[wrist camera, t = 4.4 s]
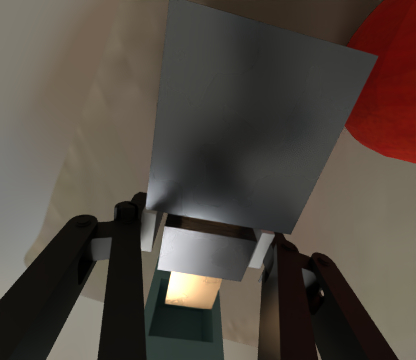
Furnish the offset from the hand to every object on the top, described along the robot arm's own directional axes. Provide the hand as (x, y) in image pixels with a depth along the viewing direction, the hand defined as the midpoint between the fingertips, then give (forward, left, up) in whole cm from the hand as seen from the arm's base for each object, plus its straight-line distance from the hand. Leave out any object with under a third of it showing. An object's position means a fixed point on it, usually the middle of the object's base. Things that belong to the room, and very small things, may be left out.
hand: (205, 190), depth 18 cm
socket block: (+11, 0, -2) cm, 11 cm away
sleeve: (-7, 0, -2) cm, 7 cm away
